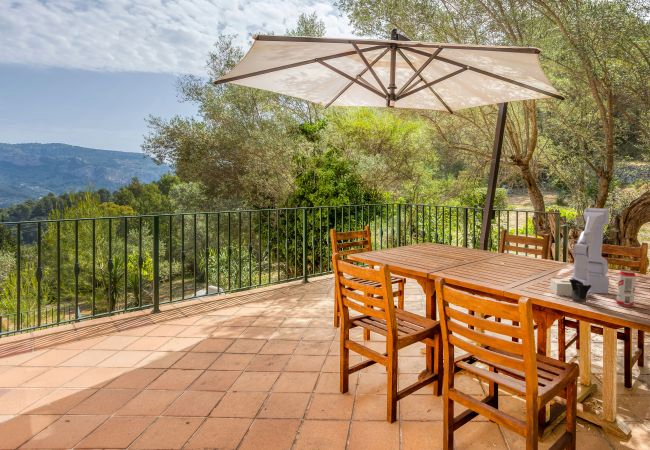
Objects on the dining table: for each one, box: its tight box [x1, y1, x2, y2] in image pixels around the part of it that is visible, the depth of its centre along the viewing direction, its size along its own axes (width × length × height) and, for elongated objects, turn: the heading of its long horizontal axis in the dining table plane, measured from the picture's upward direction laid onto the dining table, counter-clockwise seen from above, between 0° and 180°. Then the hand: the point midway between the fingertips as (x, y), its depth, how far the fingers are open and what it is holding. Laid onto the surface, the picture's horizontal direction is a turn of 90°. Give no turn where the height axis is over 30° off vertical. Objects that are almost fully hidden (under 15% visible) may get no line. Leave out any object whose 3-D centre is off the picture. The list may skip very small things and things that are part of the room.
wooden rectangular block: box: [571, 290, 588, 303], centre depth 185 cm, size 6×2×5 cm, turn 76°
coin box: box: [549, 278, 589, 298], centre depth 198 cm, size 14×10×6 cm
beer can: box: [615, 269, 637, 308], centre depth 178 cm, size 6×6×16 cm
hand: (578, 296), depth 185 cm, fingers open, 7 cm apart
